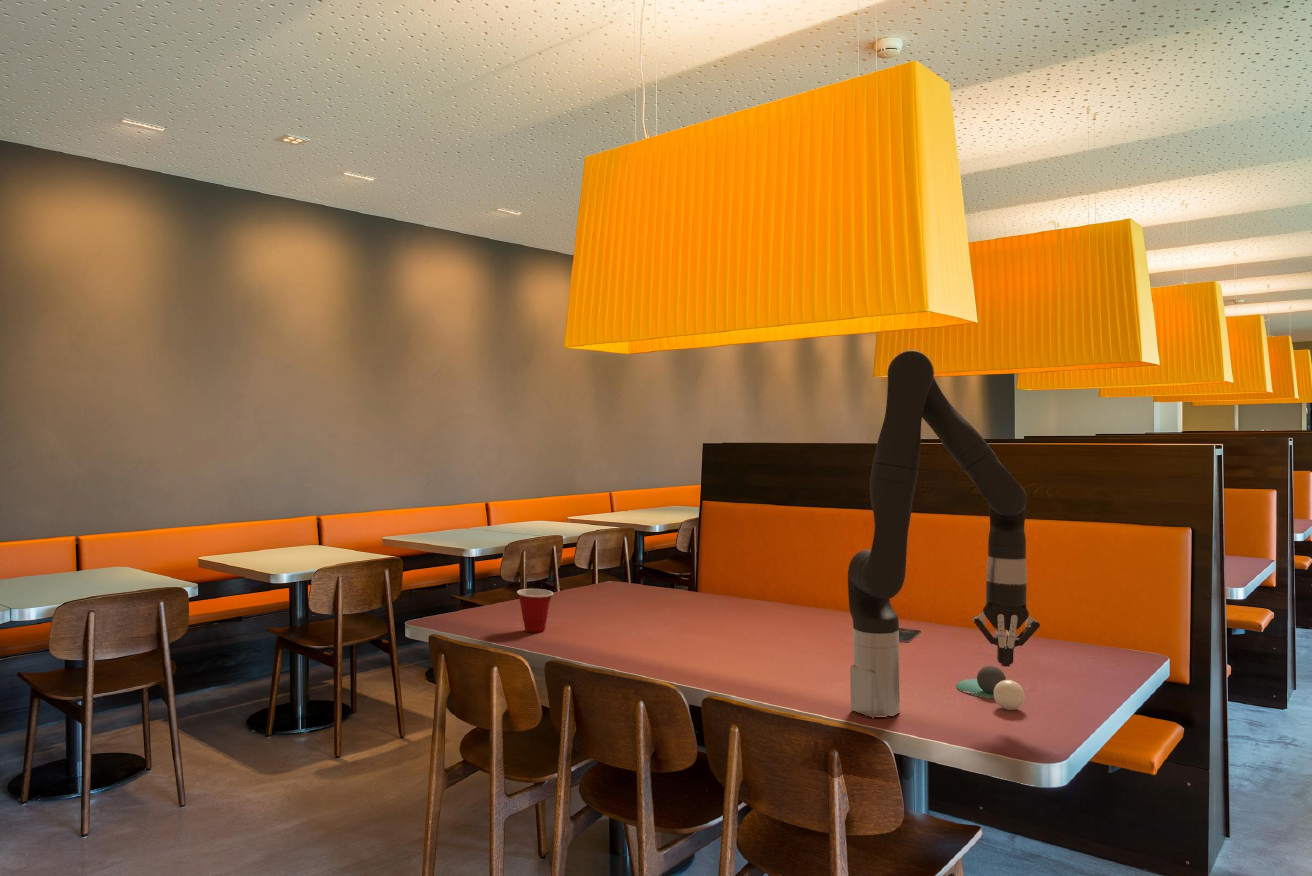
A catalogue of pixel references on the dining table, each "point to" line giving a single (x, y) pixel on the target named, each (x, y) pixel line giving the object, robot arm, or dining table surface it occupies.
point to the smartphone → (907, 634)
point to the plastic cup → (534, 608)
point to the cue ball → (1009, 694)
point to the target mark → (972, 688)
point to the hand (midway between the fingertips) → (1004, 665)
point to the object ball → (989, 678)
